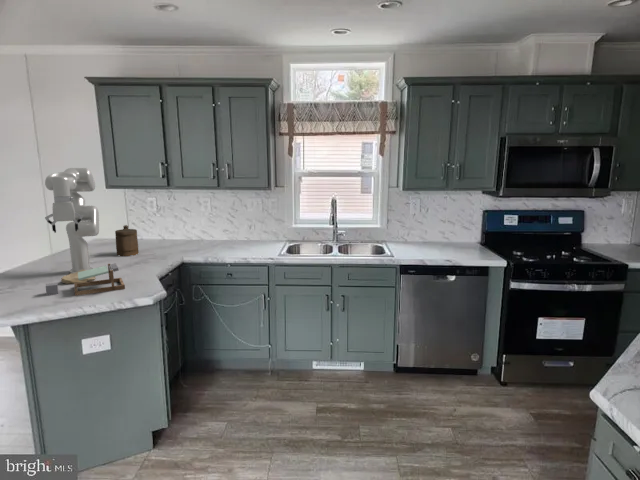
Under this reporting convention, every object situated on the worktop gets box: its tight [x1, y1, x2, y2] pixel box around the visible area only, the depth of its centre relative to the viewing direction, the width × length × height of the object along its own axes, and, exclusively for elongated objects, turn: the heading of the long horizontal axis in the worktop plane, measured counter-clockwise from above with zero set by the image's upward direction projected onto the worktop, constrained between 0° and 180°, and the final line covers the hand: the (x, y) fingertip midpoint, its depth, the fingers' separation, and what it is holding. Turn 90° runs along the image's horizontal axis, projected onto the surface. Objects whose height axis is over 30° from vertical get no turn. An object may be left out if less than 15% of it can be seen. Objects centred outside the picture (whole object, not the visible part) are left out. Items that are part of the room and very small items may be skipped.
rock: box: [60, 269, 97, 285], centre depth 231 cm, size 18×15×4 cm
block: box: [45, 282, 59, 296], centre depth 207 cm, size 5×5×5 cm
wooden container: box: [114, 224, 140, 257], centre depth 296 cm, size 15×15×22 cm
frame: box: [73, 263, 126, 297], centre depth 216 cm, size 17×23×11 cm
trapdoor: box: [78, 262, 119, 280], centre depth 215 cm, size 14×19×2 cm
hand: (65, 231), depth 215 cm, fingers open, 9 cm apart
